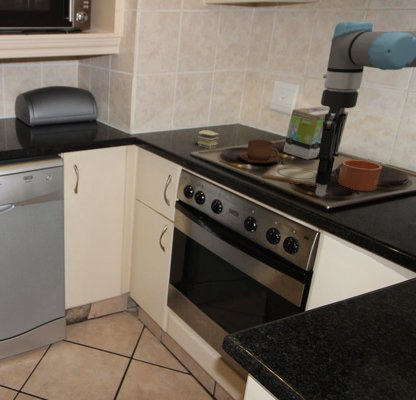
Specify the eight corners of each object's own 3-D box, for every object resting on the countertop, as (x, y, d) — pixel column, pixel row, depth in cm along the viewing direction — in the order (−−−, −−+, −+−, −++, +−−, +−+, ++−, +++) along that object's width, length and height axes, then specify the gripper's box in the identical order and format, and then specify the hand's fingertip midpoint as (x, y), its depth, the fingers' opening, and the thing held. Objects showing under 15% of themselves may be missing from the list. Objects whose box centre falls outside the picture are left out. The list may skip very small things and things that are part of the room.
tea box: (308, 160, 153) (318, 115, 148) (282, 152, 162) (290, 108, 156) (338, 154, 160) (349, 110, 154) (311, 147, 168) (321, 105, 162)
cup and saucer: (281, 159, 155) (284, 141, 153) (274, 168, 146) (277, 149, 143) (243, 154, 161) (245, 136, 159) (234, 163, 152) (236, 144, 150)
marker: (325, 194, 125) (335, 145, 120) (323, 196, 123) (333, 147, 118) (316, 192, 126) (325, 144, 121) (314, 194, 124) (323, 146, 120)
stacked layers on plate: (226, 149, 168) (228, 133, 166) (208, 152, 164) (210, 137, 162) (204, 143, 176) (206, 128, 174) (187, 146, 172) (188, 131, 170)
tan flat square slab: (330, 175, 139) (331, 172, 139) (318, 188, 129) (319, 184, 129) (277, 166, 148) (277, 163, 148) (261, 177, 138) (262, 174, 138)
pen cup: (379, 184, 131) (384, 163, 129) (373, 193, 125) (378, 171, 123) (341, 178, 137) (346, 157, 135) (334, 186, 130) (338, 165, 128)
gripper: (331, 85, 123) (314, 172, 131) (315, 92, 112) (298, 186, 120) (364, 87, 118) (345, 177, 126) (352, 94, 107) (331, 193, 116)
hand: (322, 181), depth 123 cm, fingers closed on marker, 2 cm apart
